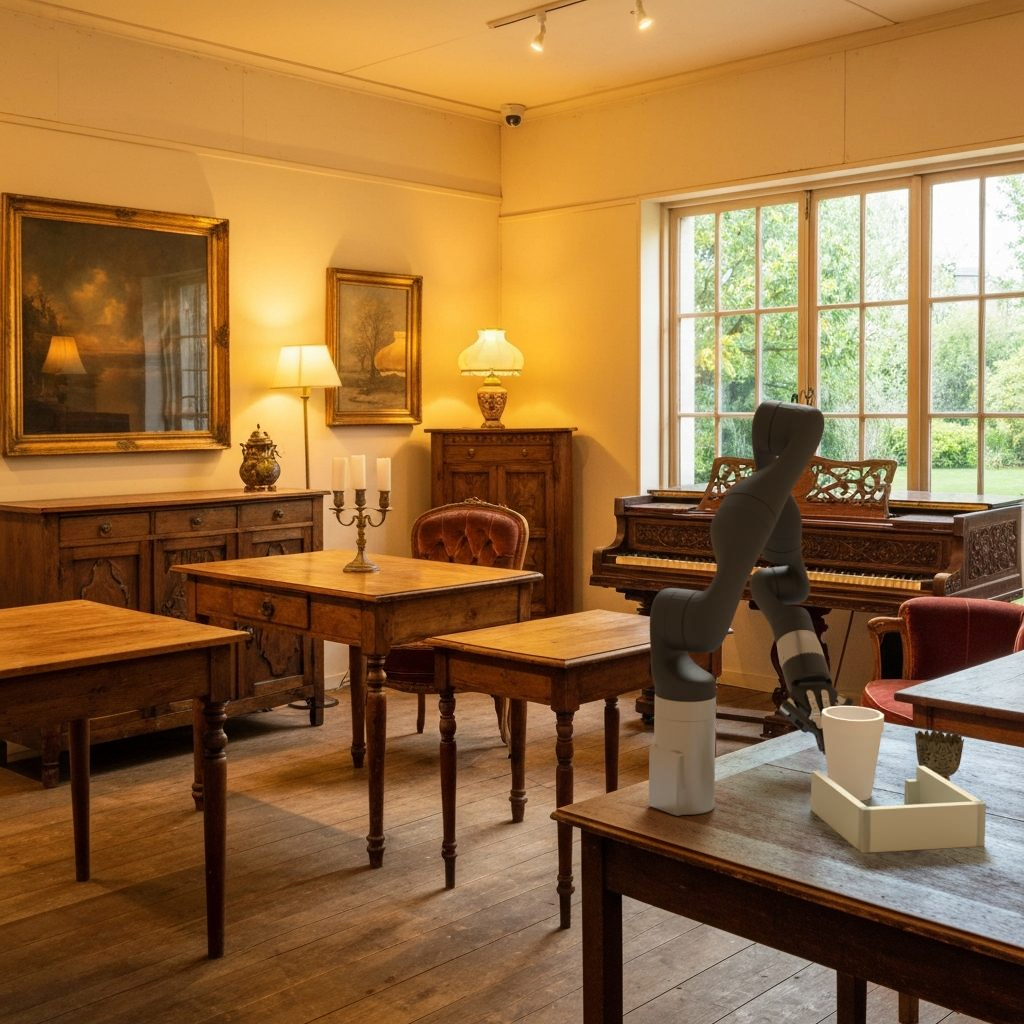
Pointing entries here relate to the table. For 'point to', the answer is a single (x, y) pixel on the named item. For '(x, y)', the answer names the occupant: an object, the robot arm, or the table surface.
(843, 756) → the foam cup
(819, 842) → the table surface
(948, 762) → the cup
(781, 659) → the robot arm
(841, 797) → the walled box
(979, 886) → the table surface
